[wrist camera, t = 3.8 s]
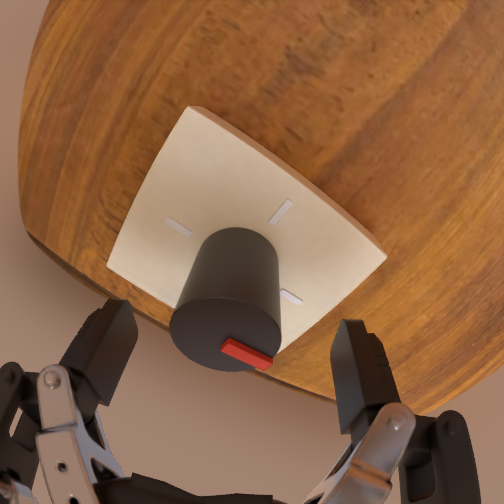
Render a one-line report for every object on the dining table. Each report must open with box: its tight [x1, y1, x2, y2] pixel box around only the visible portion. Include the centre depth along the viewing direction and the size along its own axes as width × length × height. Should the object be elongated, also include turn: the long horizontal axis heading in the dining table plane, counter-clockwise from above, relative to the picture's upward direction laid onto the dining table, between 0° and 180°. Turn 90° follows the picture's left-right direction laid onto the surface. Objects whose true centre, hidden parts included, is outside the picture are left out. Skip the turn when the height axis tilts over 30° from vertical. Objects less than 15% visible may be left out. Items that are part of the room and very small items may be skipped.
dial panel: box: [106, 106, 387, 354], centre depth 15 cm, size 12×10×3 cm
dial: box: [169, 227, 282, 372], centre depth 11 cm, size 4×4×5 cm
